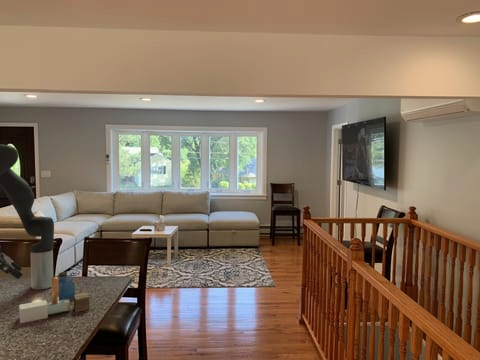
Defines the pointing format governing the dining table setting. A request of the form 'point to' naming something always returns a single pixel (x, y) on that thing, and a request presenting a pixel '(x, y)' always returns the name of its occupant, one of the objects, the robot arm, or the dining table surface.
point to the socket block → (81, 302)
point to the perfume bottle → (65, 287)
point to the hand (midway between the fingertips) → (20, 273)
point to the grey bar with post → (57, 299)
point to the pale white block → (33, 311)
